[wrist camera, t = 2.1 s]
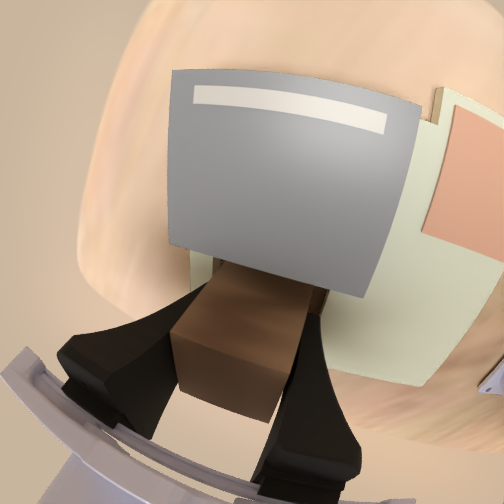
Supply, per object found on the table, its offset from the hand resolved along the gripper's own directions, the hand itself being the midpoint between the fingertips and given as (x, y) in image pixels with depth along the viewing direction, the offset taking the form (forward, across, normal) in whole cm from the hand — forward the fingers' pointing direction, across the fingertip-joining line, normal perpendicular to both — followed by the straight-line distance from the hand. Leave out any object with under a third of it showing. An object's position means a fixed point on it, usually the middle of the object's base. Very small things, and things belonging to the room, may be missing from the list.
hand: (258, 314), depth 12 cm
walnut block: (+2, 0, 0) cm, 2 cm away
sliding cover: (+1, 0, -6) cm, 7 cm away
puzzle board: (+2, -3, -3) cm, 5 cm away
